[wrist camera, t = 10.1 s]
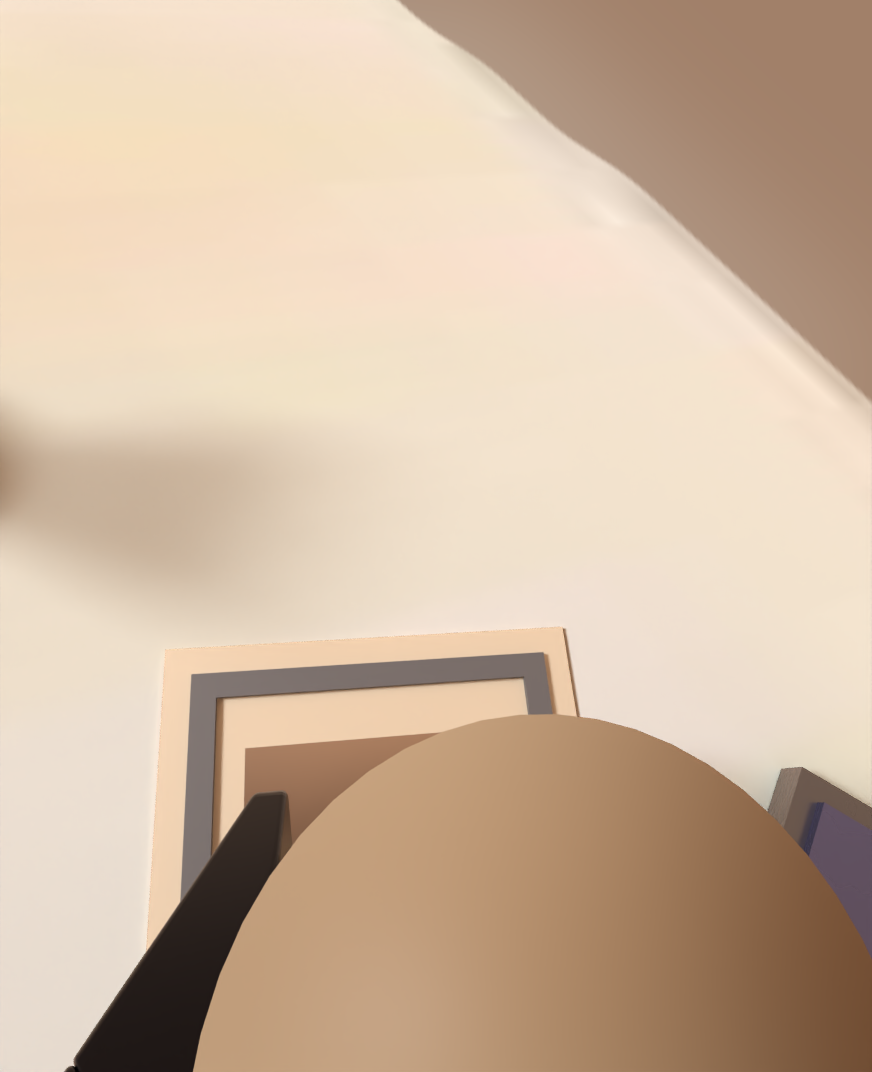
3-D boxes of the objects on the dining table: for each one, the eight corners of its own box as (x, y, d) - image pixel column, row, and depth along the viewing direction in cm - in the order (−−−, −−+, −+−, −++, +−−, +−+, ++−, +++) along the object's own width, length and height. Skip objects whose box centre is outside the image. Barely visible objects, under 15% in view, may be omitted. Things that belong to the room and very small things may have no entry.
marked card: (636, 1093, 17) (641, 1098, 16) (132, 1179, 15) (128, 1186, 15) (561, 627, 21) (564, 625, 21) (166, 650, 19) (163, 648, 19)
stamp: (539, 1024, 13) (1440, 1929, 2) (262, 1066, 12) (-349, 2763, 2) (503, 744, 15) (885, 533, 4) (265, 764, 15) (23, 568, 4)
